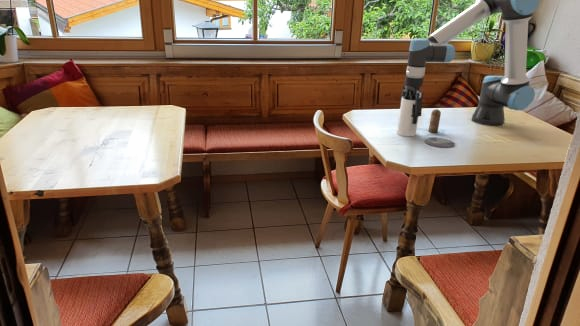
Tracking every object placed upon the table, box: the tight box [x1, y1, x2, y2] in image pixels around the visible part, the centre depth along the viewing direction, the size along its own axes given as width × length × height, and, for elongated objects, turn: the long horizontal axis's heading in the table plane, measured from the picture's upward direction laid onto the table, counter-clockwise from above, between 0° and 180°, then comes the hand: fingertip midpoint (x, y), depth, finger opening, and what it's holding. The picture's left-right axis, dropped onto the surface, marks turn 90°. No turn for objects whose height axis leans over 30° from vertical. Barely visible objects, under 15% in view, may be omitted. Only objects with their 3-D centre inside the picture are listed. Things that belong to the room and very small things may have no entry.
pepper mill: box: [428, 108, 442, 134], centre depth 194 cm, size 4×4×10 cm
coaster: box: [424, 136, 456, 149], centre depth 181 cm, size 12×12×1 cm
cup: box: [396, 96, 420, 137], centre depth 188 cm, size 8×8×16 cm
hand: (407, 127), depth 190 cm, fingers closed on cup, 8 cm apart
